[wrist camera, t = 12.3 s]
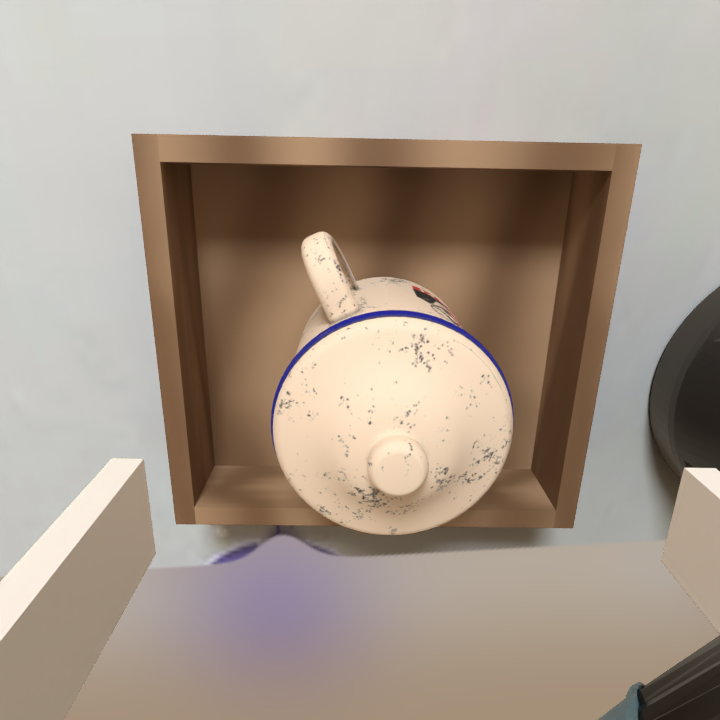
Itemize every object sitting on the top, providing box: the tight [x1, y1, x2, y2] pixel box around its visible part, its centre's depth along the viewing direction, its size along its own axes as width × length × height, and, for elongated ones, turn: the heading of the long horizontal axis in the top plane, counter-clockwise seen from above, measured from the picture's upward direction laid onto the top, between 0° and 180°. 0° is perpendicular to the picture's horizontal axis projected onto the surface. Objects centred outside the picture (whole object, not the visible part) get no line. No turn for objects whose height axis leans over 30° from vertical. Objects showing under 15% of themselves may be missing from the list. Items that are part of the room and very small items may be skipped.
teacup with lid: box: [271, 232, 514, 535], centre depth 22 cm, size 12×9×12 cm
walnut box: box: [132, 134, 642, 528], centre depth 26 cm, size 20×18×5 cm
